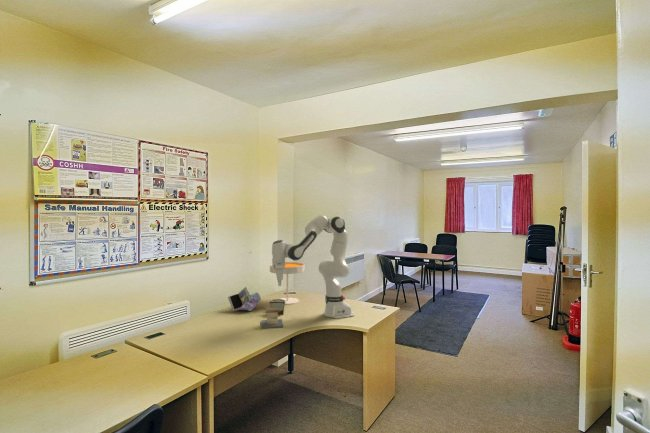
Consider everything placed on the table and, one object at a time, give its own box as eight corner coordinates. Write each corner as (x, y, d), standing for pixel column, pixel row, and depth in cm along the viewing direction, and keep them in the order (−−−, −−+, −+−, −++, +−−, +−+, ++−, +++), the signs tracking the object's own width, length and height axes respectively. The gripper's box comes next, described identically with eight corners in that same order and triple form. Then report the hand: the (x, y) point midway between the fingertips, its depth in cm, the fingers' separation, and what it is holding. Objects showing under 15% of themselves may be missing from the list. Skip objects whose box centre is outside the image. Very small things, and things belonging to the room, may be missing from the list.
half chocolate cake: (287, 312, 249) (287, 299, 249) (285, 314, 243) (285, 301, 243) (271, 311, 250) (271, 298, 250) (268, 314, 244) (268, 300, 244)
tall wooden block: (265, 322, 223) (265, 308, 223) (278, 321, 225) (278, 308, 225) (265, 324, 219) (265, 310, 219) (279, 323, 220) (279, 310, 220)
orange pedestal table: (292, 295, 300) (292, 260, 300) (311, 302, 278) (312, 264, 277) (263, 300, 282) (263, 264, 281) (281, 308, 259) (281, 268, 258)
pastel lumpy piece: (266, 300, 265) (255, 281, 266) (257, 306, 243) (245, 285, 245) (245, 312, 267) (235, 293, 268) (234, 320, 245) (223, 299, 247)
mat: (281, 320, 230) (281, 319, 230) (283, 327, 216) (283, 325, 216) (261, 321, 228) (261, 320, 228) (261, 328, 214) (261, 327, 214)
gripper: (273, 261, 238) (274, 280, 238) (274, 267, 218) (275, 287, 218) (282, 261, 239) (282, 280, 239) (284, 266, 219) (285, 287, 219)
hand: (279, 283), depth 229 cm, fingers open, 8 cm apart
